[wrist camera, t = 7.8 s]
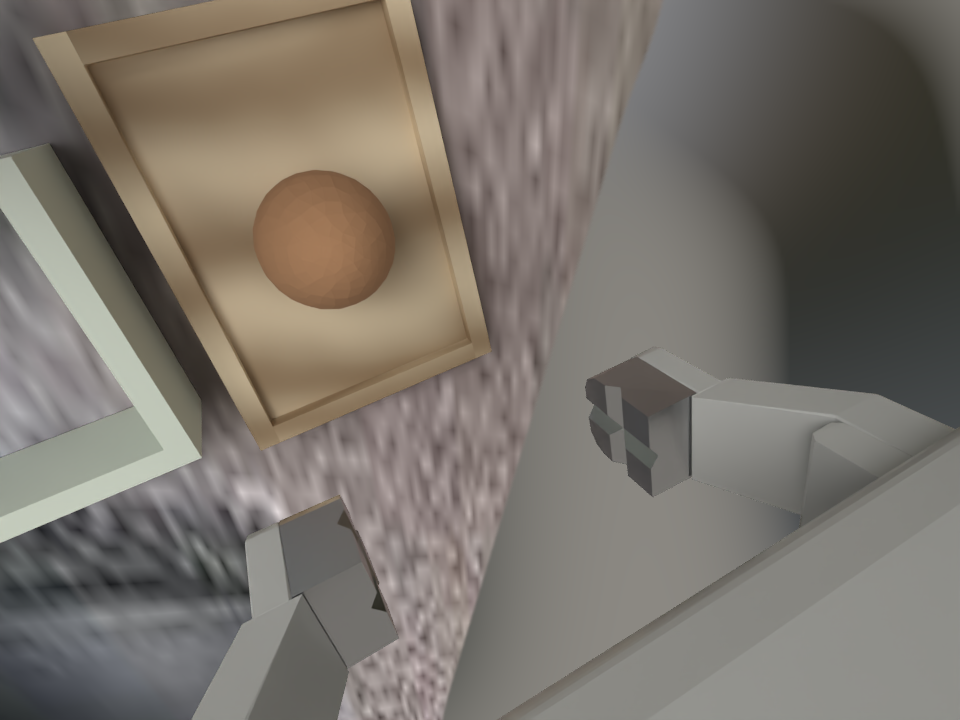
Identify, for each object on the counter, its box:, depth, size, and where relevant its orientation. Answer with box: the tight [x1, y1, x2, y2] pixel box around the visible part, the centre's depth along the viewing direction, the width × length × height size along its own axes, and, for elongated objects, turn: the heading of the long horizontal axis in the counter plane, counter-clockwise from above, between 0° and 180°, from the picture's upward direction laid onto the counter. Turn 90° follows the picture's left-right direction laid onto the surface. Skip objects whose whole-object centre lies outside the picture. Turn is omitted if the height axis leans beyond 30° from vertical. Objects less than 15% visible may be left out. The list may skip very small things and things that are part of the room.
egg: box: [253, 170, 395, 309], centre depth 21 cm, size 5×5×8 cm
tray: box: [32, 0, 492, 451], centre depth 25 cm, size 18×13×2 cm
